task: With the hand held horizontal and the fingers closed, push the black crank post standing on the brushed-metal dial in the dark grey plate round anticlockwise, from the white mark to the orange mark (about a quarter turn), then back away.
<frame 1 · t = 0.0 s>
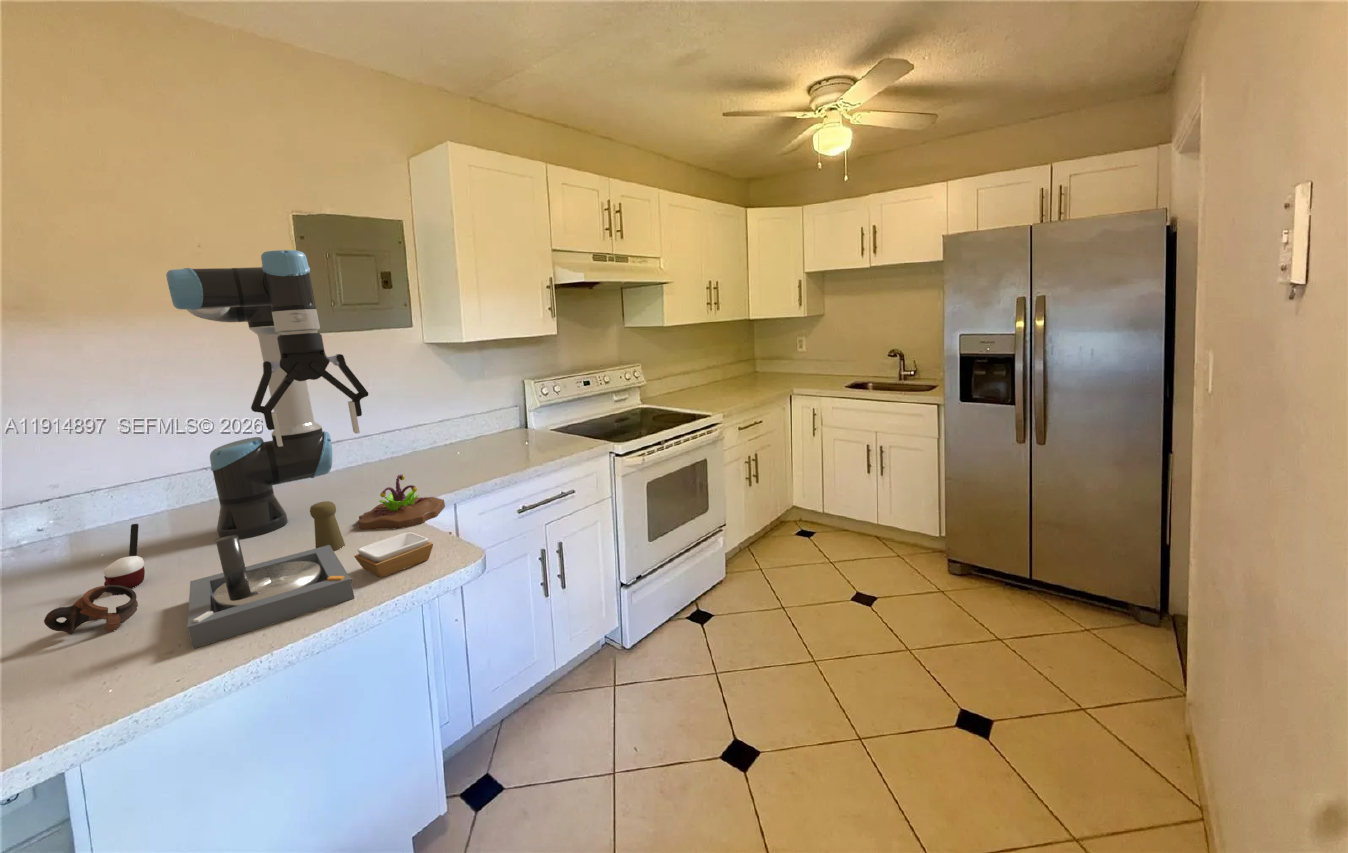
hand: (319, 439, 122), 28 cm above the countertop, tool pointing down, fingers open, 13 cm apart
cork: (330, 548, 140), on the countertop
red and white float: (130, 587, 127), on the countertop
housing: (273, 599, 115), on the countertop
dial: (263, 557, 114), point 8 cm above the countertop, hinge at 0.0°
brown split ring clamp: (97, 630, 109), on the countertop
soap dish: (397, 566, 128), on the countertop
plant: (404, 517, 160), on the countertop
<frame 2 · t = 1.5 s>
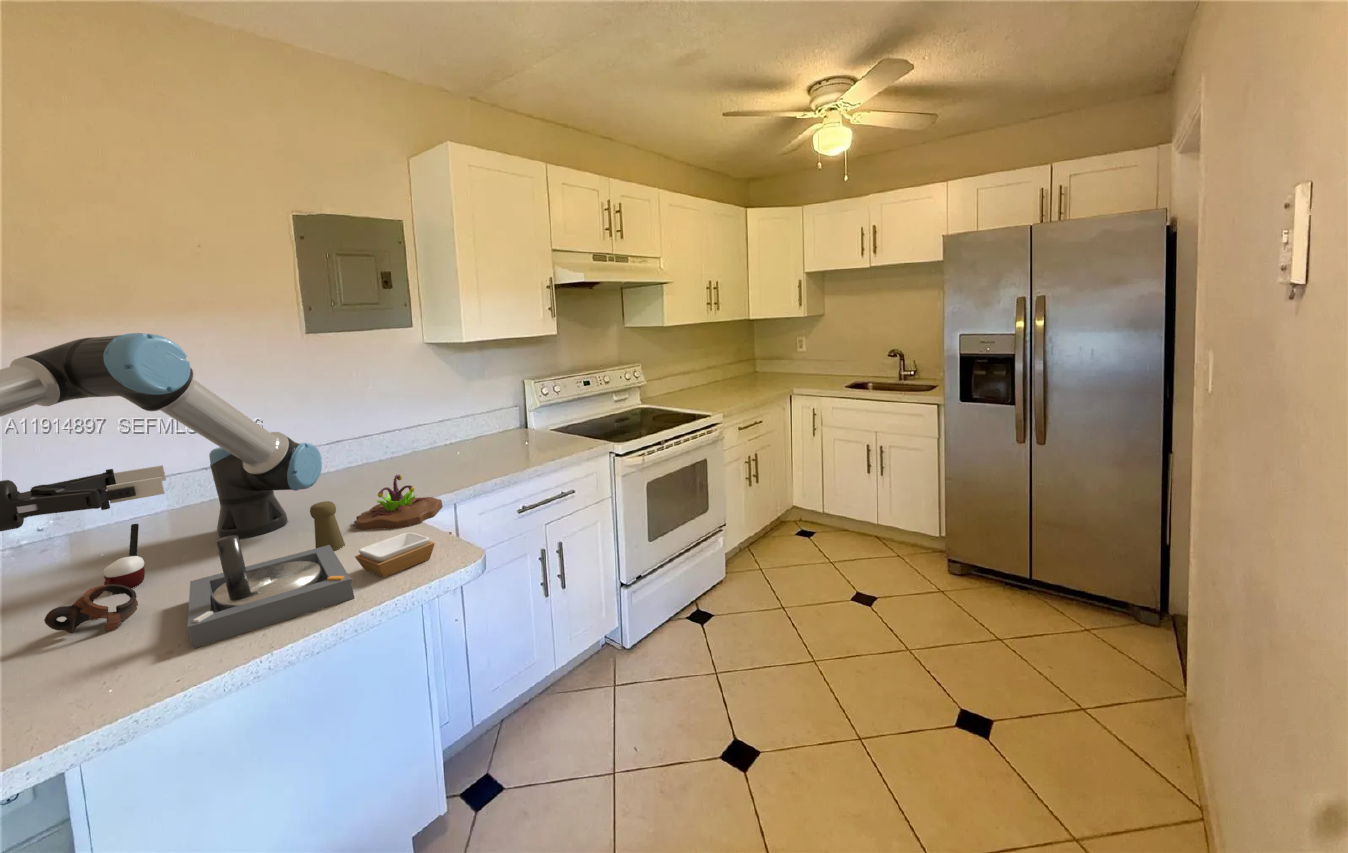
hand: (164, 478, 103), 27 cm above the countertop, tool horizontal, fingers open, 13 cm apart
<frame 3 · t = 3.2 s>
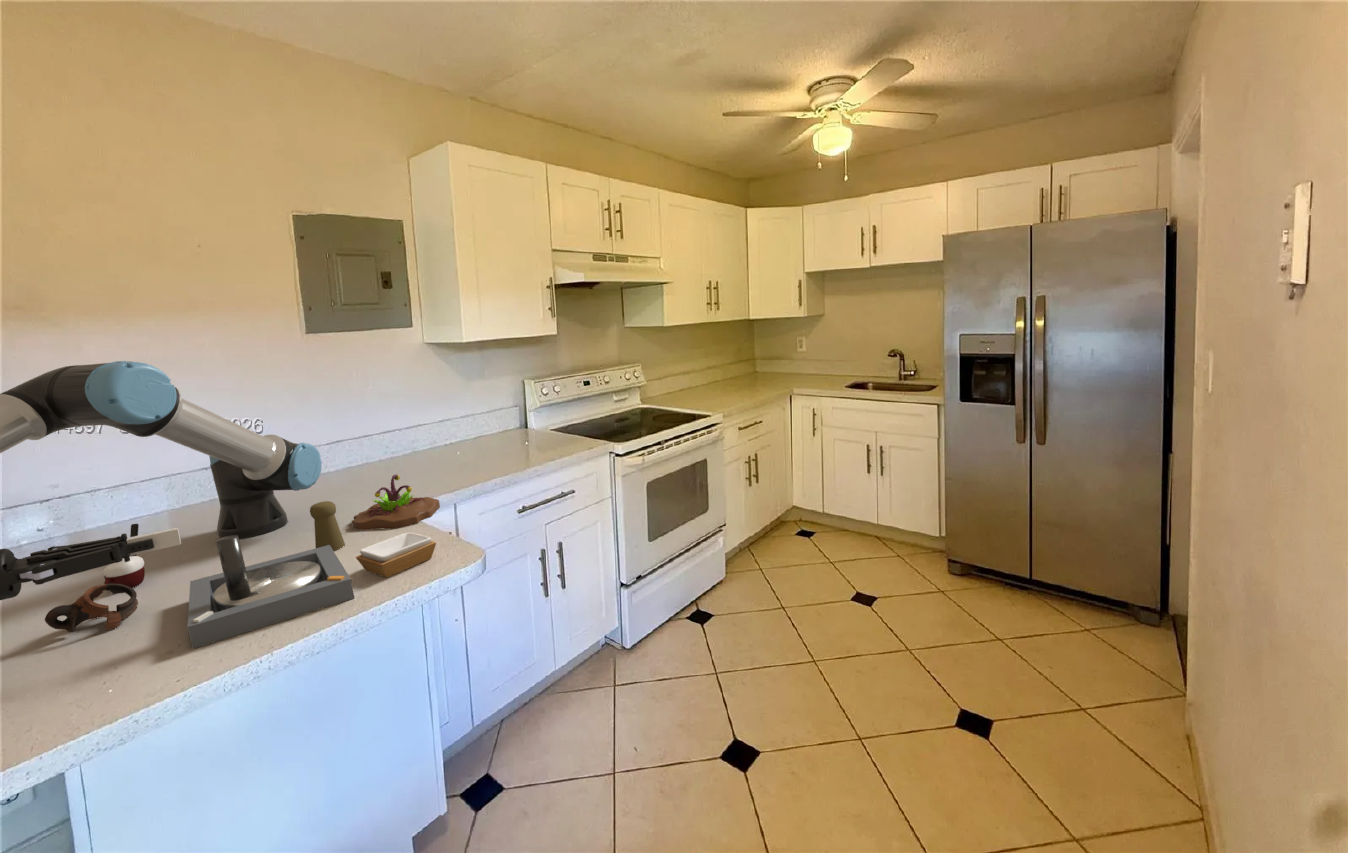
hand: (179, 536, 103), 17 cm above the countertop, tool horizontal, fingers closed
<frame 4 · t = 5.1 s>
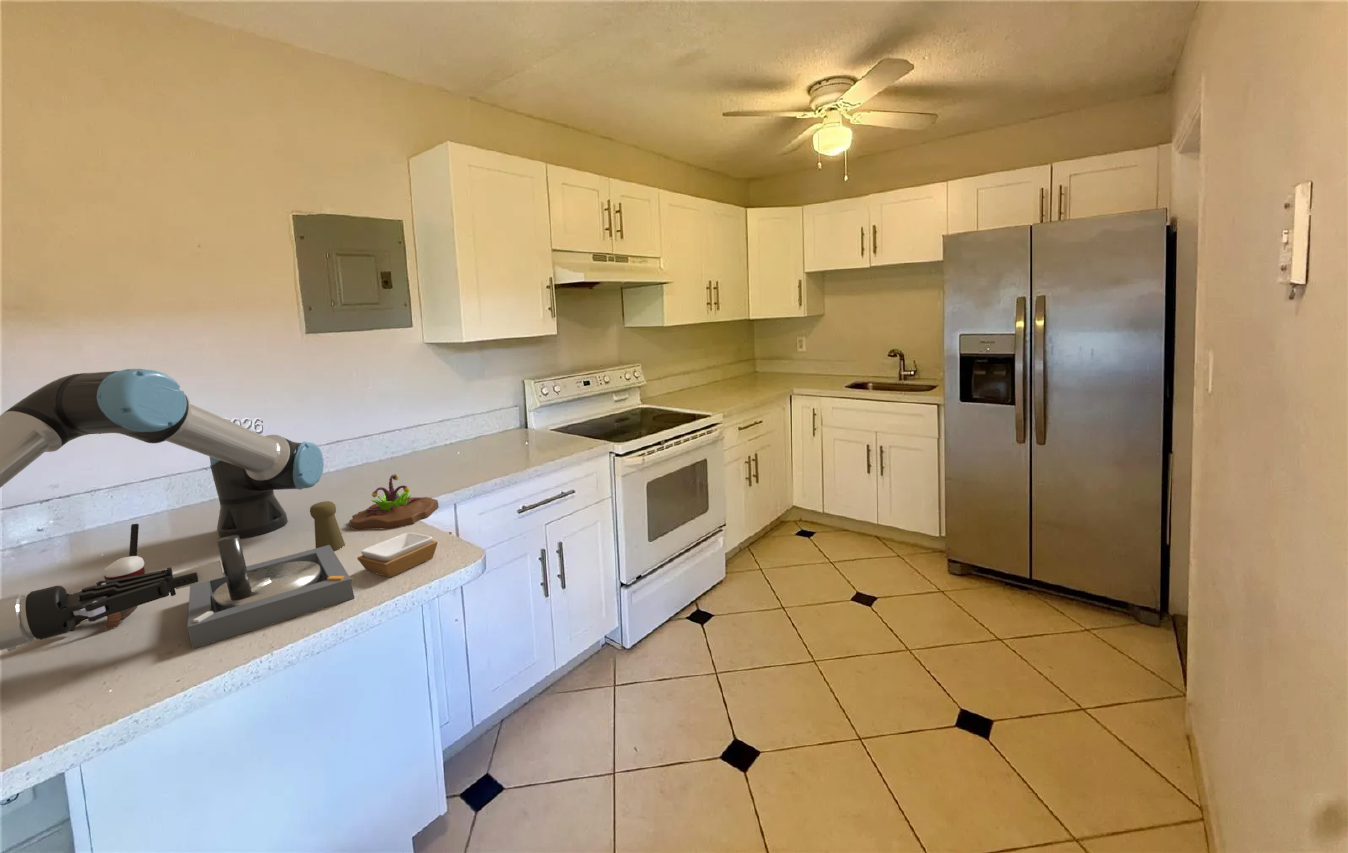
hand: (221, 568, 106), 10 cm above the countertop, tool horizontal, fingers closed
dial: (263, 557, 114), point 8 cm above the countertop, hinge at 1.7°, touching gripper
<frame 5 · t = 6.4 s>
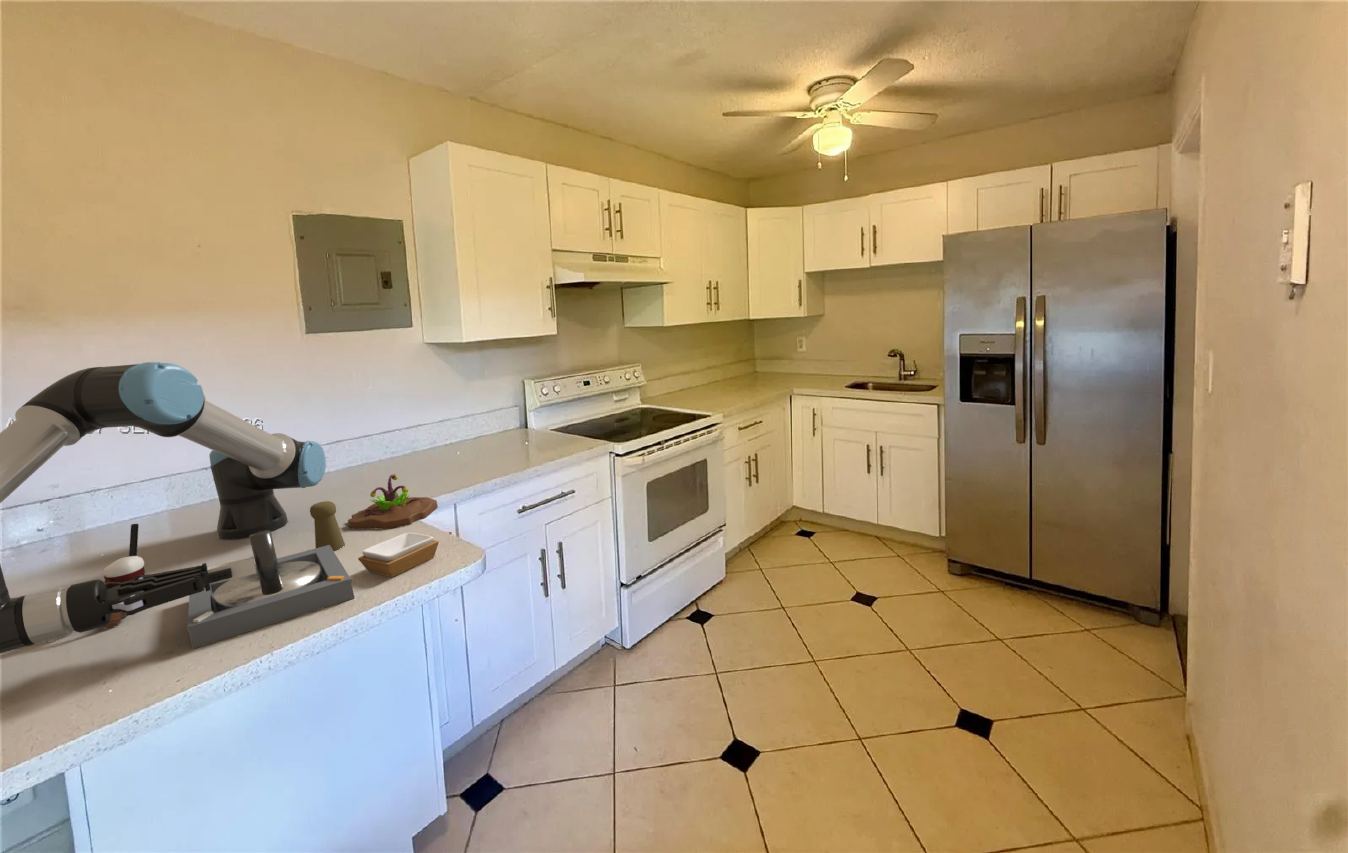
hand: (254, 565, 107), 10 cm above the countertop, tool horizontal, fingers closed
dial: (263, 557, 114), point 8 cm above the countertop, hinge at 46.4°, touching gripper
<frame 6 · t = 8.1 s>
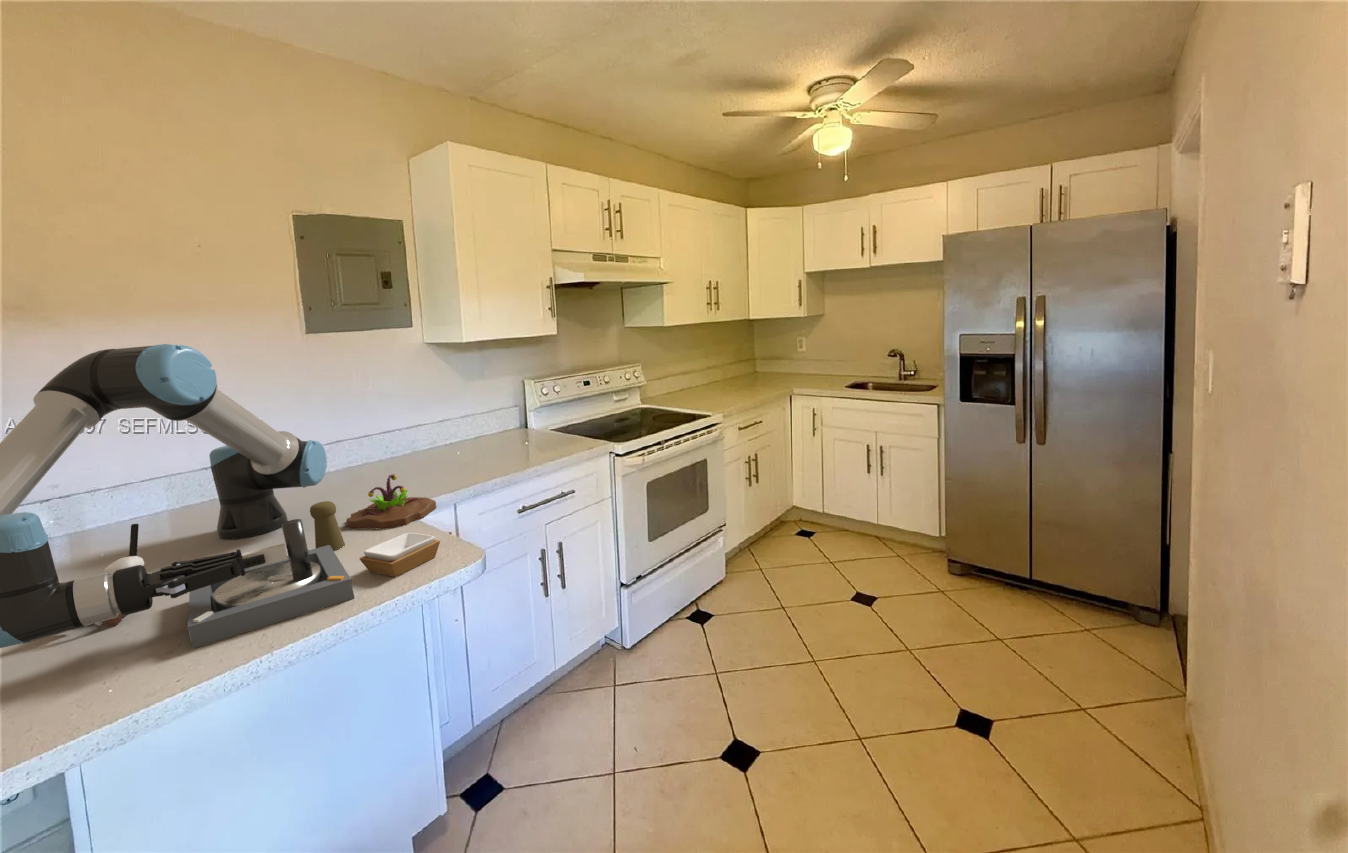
hand: (285, 551, 112), 10 cm above the countertop, tool horizontal, fingers closed
dial: (263, 557, 114), point 8 cm above the countertop, hinge at 99.0°, touching gripper
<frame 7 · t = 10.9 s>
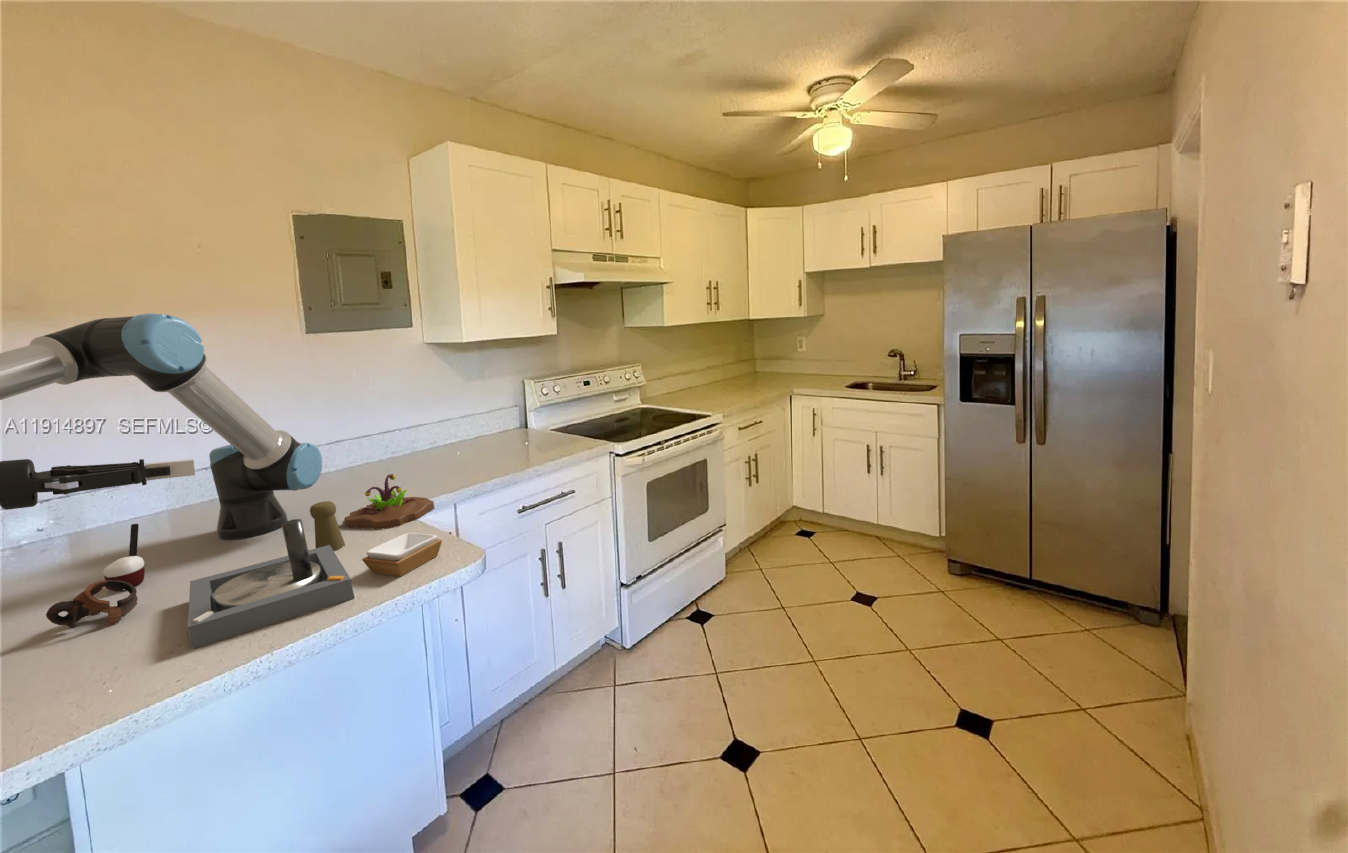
hand: (193, 467, 108), 27 cm above the countertop, tool horizontal, fingers closed
dial: (263, 557, 114), point 8 cm above the countertop, hinge at 99.0°
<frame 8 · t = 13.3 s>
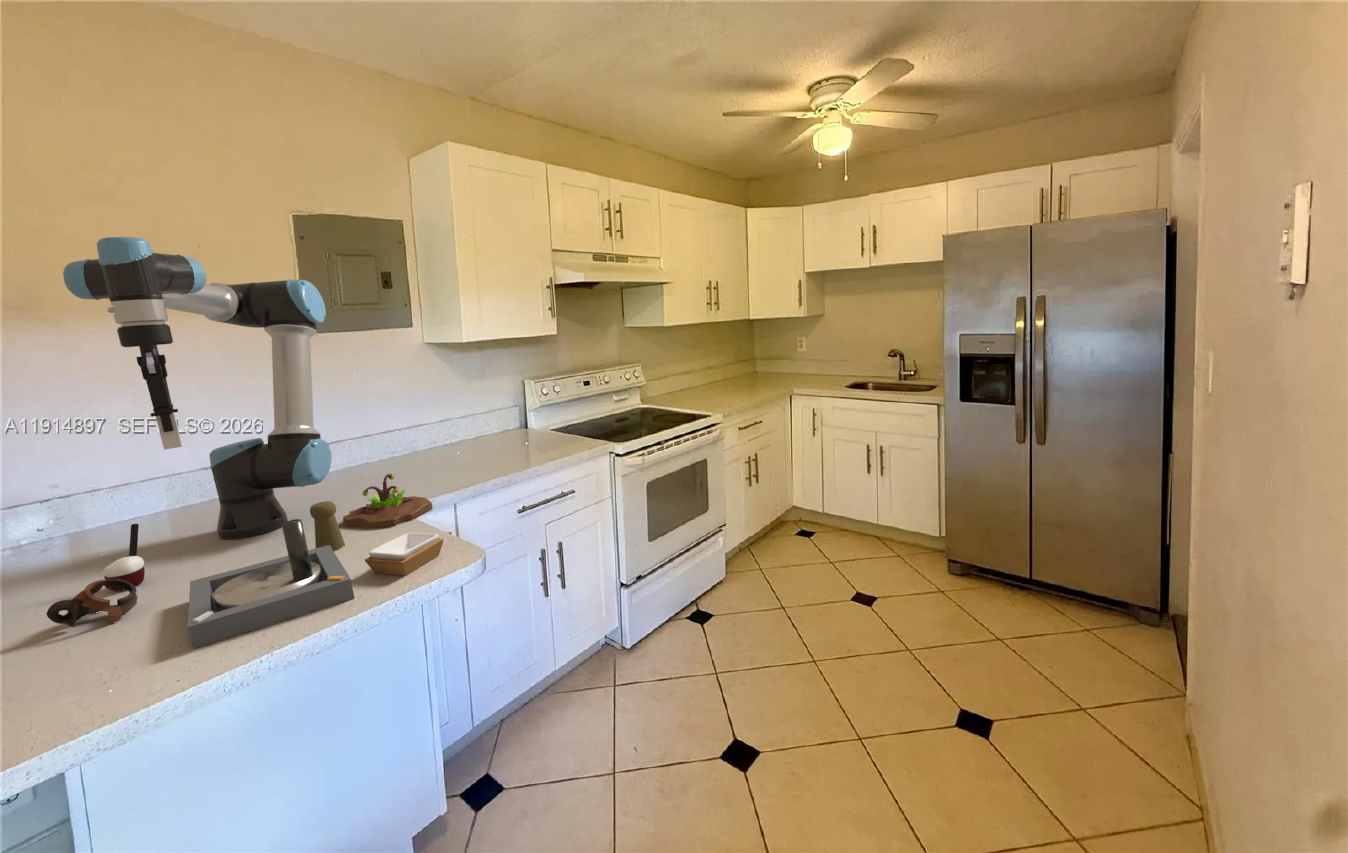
hand: (173, 447, 117), 29 cm above the countertop, tool pointing down, fingers closed
at the end: dial at +99° (first picture: +0°); the gripper is holding nothing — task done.
